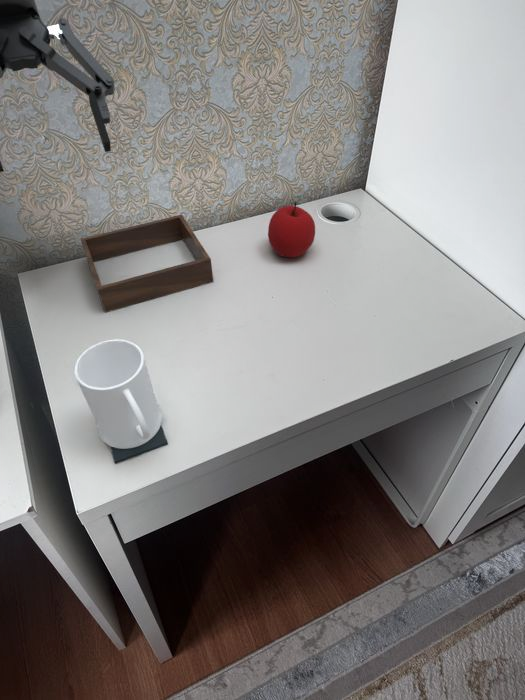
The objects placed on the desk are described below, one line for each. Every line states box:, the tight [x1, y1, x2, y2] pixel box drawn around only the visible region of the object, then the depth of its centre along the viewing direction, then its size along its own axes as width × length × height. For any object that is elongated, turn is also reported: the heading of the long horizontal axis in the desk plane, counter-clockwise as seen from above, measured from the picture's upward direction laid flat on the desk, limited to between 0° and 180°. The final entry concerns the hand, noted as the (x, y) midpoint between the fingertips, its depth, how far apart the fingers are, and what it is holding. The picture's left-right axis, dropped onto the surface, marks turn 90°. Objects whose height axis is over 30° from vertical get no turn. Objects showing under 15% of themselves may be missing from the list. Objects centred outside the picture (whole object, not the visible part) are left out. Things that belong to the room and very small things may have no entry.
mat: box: [109, 425, 169, 465], centre depth 64 cm, size 7×7×1 cm
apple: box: [267, 201, 316, 258], centre depth 90 cm, size 9×9×10 cm
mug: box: [74, 339, 163, 449], centre depth 60 cm, size 12×8×12 cm
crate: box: [79, 214, 214, 313], centre depth 88 cm, size 16×20×5 cm
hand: (54, 157), depth 61 cm, fingers open, 13 cm apart
